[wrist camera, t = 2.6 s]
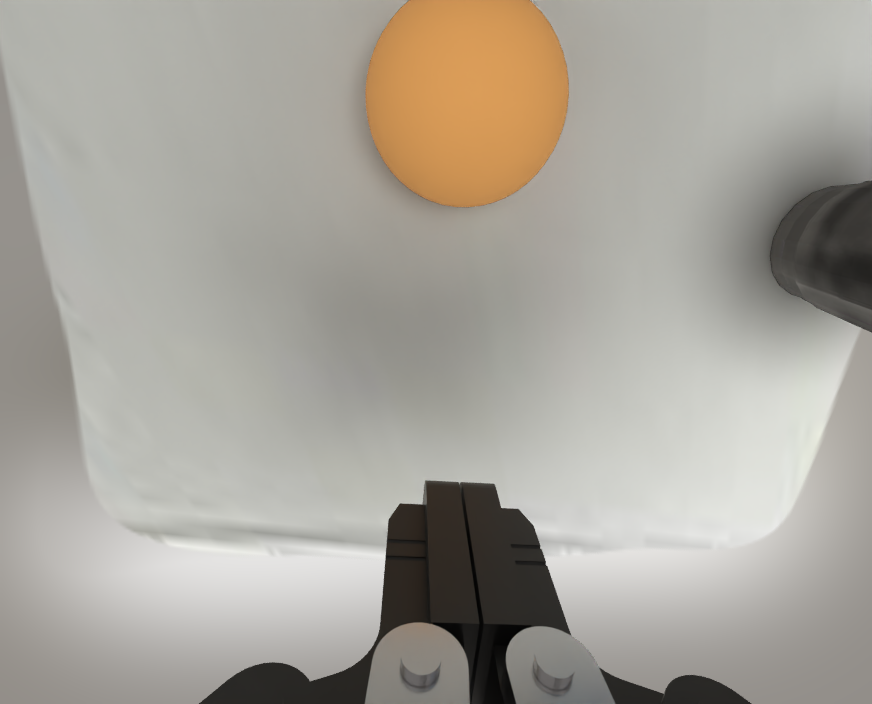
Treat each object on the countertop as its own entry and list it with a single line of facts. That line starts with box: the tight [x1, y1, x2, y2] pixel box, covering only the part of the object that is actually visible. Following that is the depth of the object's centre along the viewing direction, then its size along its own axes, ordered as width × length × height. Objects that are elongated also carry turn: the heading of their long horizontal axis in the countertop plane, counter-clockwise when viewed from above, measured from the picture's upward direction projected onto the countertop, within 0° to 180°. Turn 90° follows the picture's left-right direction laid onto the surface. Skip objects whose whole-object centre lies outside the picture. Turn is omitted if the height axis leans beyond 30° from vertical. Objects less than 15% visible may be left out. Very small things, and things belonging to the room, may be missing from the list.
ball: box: [366, 0, 569, 207], centre depth 14 cm, size 6×6×6 cm
